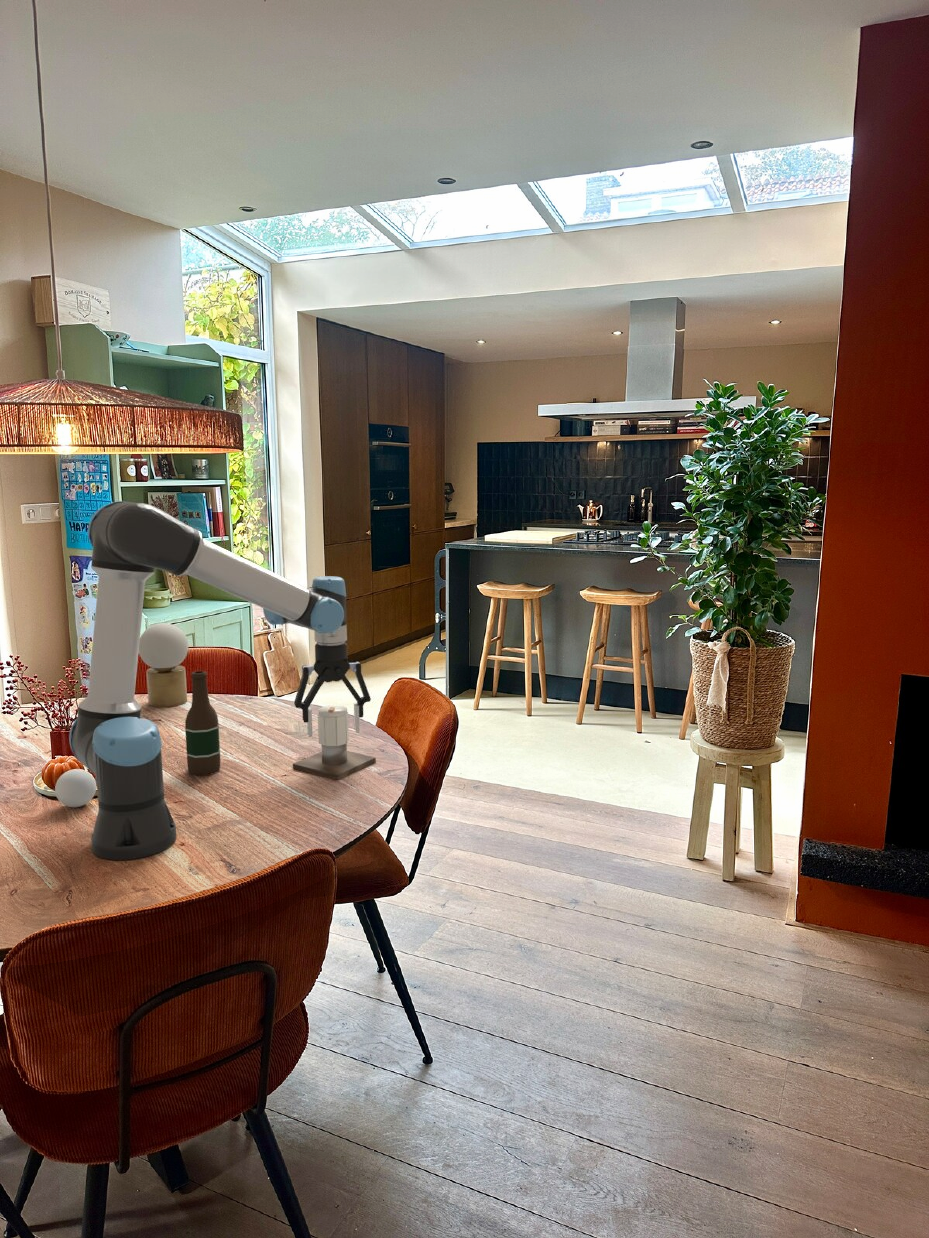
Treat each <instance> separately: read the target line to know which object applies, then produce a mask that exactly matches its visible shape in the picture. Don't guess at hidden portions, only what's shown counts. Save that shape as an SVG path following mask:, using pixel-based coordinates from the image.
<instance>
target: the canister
mask: <svg viewBox="0 0 929 1238" xmlns="http://www.w3.org/2000/svg"><path fill="white" fill-rule="evenodd" d="M317 711H318V714H317V728H318V729H317V731H318V732H317V733H318V744H319V745H324V746H340V745H344V744H346V743H347V744H348V743H349V740H350V739H349V735H350V733H349V712H348V707H346V706H344V705H337V704H336V705H334V704H333V705H326V706H322V707H320V708H318V710H317Z"/></svg>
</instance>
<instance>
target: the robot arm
mask: <svg viewBox="0 0 929 1238" xmlns="http://www.w3.org/2000/svg"><path fill="white" fill-rule="evenodd" d="M87 535H88V537H87V538H88V539H89V542H90V545H91V548H92V553H91V564H90V565H91V566H90V567H91V569H92V570H93V571H94V572H95V574H96V576H97V577H98V580H97V581H98V583H97V590H96V591H97V593H96V603H95V614H94V626H93V627H94V628H93V635H92V636H93V637H92V645H91V646H92V648H91V657H90V667H89V668H90V669H89V682H88V690H87V691H88V692H87V696H86V697H85V698H84V699H82V701H80V702H79V704H78V708H77V718H75V720H74V721H73V723H72V725H71V726H70V729H69V735H68V737H69V739H68V740H69V741H68V742H69V746H70V749H71V752H72V754H73V755H74V757H75V759H76V760H77V761H78V762H79V763H80V764H81V765H82V766H84V767H85V768H86V769H88V771H90V772H91V773H92V775H93V776H95V781H96V792H97V801H98V813H97V816H96V819H95V823H94V826H93V827H94V828H93V833H92V834H91V839H90V840H91V841H90V842H91V851H92V853H93V854H94V855H95V856H96V857H98V858H101V859H104V860H112V861H127V860H128V861H129V860H135V859H141V858H145V857H149V856H152V855H153V856H154V855H155V854H157V853H161V852H162V851H164V850H166V849H168V848H169V847H171V846H172V845H173V844H174V843H175V842H176V840H177V837H178V835H177V826H176V822H175V821H174V818H173V816H172V814H171V812H170V809H169V807H168V805H167V803H166V800H165V791H164V790H165V789H164V776H163V775H164V774H163V759H162V745H163V744H162V743H163V742H162V738H161V734H160V730H159V728H158V726H157V724H156V723H154V722H153V721H152V720H150V719H146V718H144V717H142V718H141V716H142V715H141V712H142V705H141V704H139V702H138V701H137V700H136V699H135V692H136V681H137V673H138V663H139V662H138V661H139V660H138V659H139V642H140V637H141V629H142V619H143V610H144V608H143V607H144V599H145V598H144V597H145V587H146V581H147V580H148V579H149V578H151V577H152V576H153V575H155V569H156V570H161V571H164V572H166V573H169V574H171V575H174V576H176V577H181V576H184V575H186V576H190V577H191V578H194V579H196V580H198V581H200V582H203V583H205V584H208V585H209V586H212V587H214V588H217V589H218V590H221V591H223V592H225V593H227V594H230V595H232V596H235V597H237V598H239V599H242V600H244V601H247V602H248V603H251V604H252V605H255V606H258V607H260V608H262V610H263V615H264V618H265V620H266V621H267V622H268V623H269V624H270V625H272V626H276V625H280V626H283V625H286V624H291V625H293V626H294V625H295V626H297V627H301V628H306V629H308V630H311V631H313V633H314V642H315V645H314V657H315V659H314V660H315V662H314V664H313V665H308V666H307V664H306V665H305V664H304V665H302V666H301V674H302V675H301V678H300V682H299V685H298V688H297V692H296V696H295V699H294V702H293V704H294V706H295V708H296V709H301V710H302V711H301V712H302V721H303V723H304V724H305V723H307V735H308V737H309V738H311V737H313V712H312V708H311V704H312V703H313V701H314V699H315V697H316V696H317V694H318V692H319V690H320V689H321V687H322V686H323V684H324V683H330V682H337V683H338V682H340V681H342V682H343V684H344V685H345V686H346V688H347V690H348V691H349V693H350V694H351V695H352V697H353V698H354V699H355V701H356V702H354V703H353V717H354V718H353V722H354V723H353V726H354V730H355V732H356V733H360V718H363V717H364V706H365V704H366V703H370V702H371V700H372V698H371V695H370V693H369V690H368V688H367V685H366V682H365V679H364V676H363V674H362V664H361V663H360V661H355V662H349V660H348V644H347V643H346V641H347V640H348V635H347V634H348V631H347V630H348V628H347V591H346V590H347V589H346V582H345V579H344V578H342V577H340V576H335V575H334V576H331V575H329V576H328V575H325V576H318V577H314V578H313V579H312V584H311V586H309V587H305V586H303V585H301V584H298V583H296V582H294V581H292V580H290V579H288V578H285V576H284V577H283V576H281V575H280V574H277V573H276V572H274V571H271V570H270V569H267V568H265V567H263V566H261V565H259V564H257V563H254V562H252V561H250V560H249V559H246V558H244V557H242V556H241V555H238V554H236V553H235V552H231V551H230V550H227V549H225V548H223V547H221V546H219V545H217V544H215V543H213V542H210V541H209V540H207V539H204V537H203V535H202V532H201V531H200V530H198V529H196V528H194V527H191V526H190V525H188V524H186V523H184V522H183V521H181V520H179V519H178V518H175V517H174V516H172V515H171V514H169V513H168V512H166V511H164V510H162V509H160V508H158V507H157V506H154V505H151V504H148V503H144V502H143V503H142V502H133V501H132V502H131V501H128V500H127V501H126V500H125V501H124V500H118V501H113V502H110V503H107V504H105V505H103V506H101V507H100V508H98V509H97V510H96V511H95V512H94V514H93V515H92V516H91V518H90V520H89V523H88V526H87ZM350 669H351V671H352V672H353V673H354V674H355V677H356V680H357V683H358V686H359V688H360V690H361V693H362V696H360V695H359V693H358V692H357V690H356V689H355V687H354V686H353V685H352V683H351V682H350V680H349V679H348V678H347V676H346V674H347V672H348V671H349V670H350ZM313 671H314V672H315V673H316V674H317V676H316V678H315V681H314V683H313V684H312V686H311V688H310V689H309V691H308V693H307V695H306V696H305V698H304V695H305V693H306V689H307V685H308V682H309V677H310V676H311V675H312V673H313ZM303 698H304V700H303Z"/></svg>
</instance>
